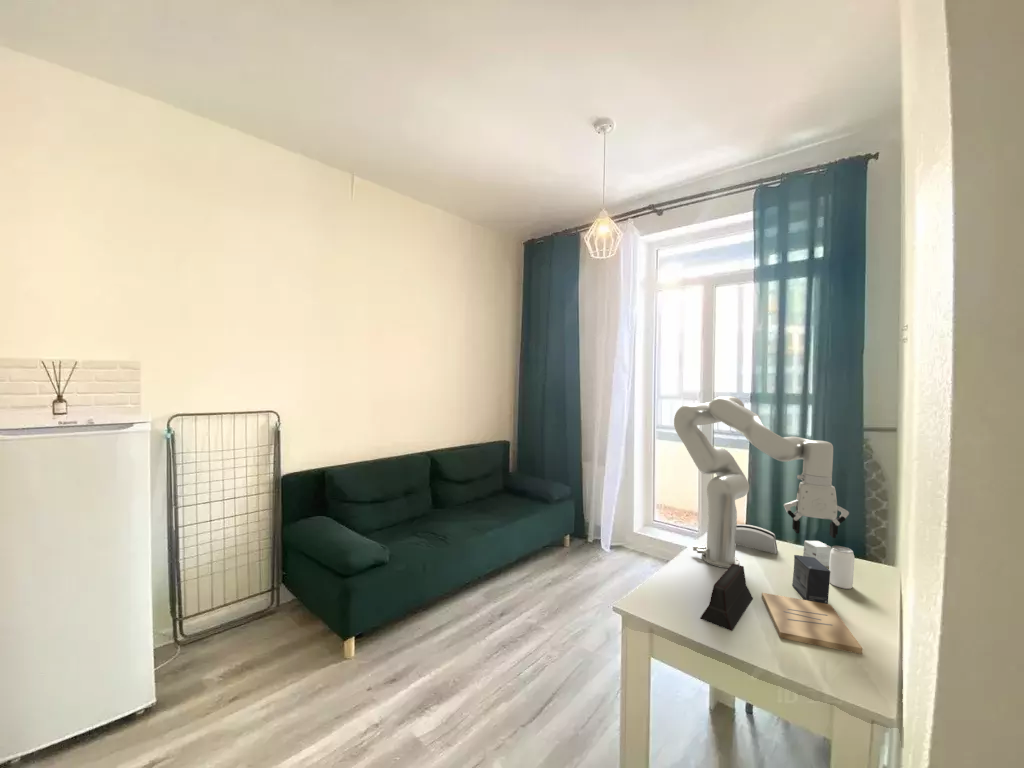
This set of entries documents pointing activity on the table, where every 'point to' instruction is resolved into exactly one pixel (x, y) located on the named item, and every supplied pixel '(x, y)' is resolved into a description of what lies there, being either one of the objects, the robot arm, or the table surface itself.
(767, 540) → the white arched block
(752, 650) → the table surface
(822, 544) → the skincare box
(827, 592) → the small box
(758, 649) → the table surface
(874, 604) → the table surface
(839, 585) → the can
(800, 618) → the board
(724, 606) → the barrier
